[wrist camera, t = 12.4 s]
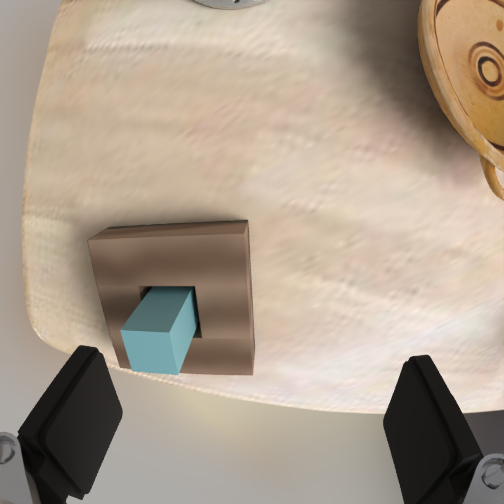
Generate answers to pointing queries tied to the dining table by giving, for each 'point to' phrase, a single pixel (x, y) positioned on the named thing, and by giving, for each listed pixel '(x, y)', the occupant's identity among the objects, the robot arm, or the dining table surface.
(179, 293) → the peg
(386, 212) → the dining table surface
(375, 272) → the dining table surface
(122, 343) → the bore block
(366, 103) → the dining table surface
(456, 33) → the ceramic bowl
